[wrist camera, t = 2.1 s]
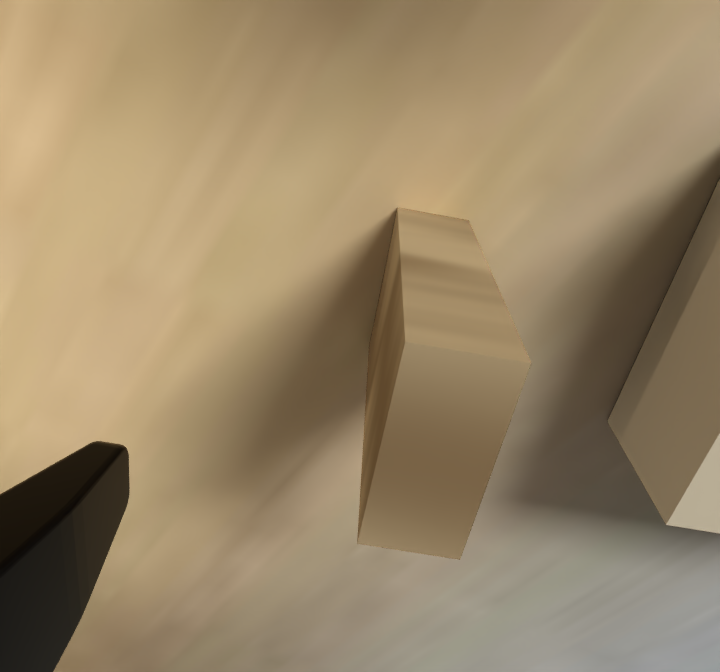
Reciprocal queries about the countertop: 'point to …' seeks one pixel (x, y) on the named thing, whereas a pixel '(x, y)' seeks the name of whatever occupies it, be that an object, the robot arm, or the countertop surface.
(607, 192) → the countertop surface
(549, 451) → the countertop surface
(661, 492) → the white open frame
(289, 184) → the countertop surface
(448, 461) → the tan wooden block
